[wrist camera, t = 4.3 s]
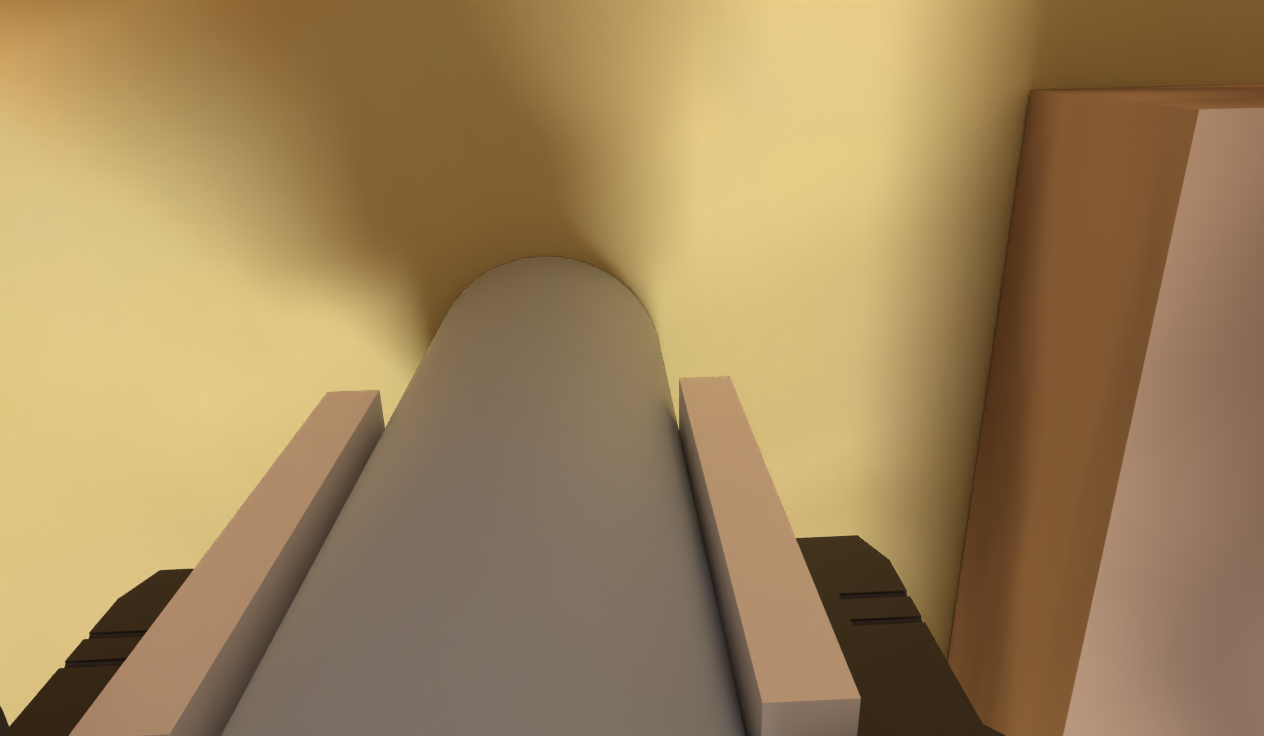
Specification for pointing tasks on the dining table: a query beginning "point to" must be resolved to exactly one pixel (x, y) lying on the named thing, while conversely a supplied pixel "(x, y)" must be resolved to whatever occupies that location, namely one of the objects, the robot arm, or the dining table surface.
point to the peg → (513, 542)
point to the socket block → (1124, 426)
